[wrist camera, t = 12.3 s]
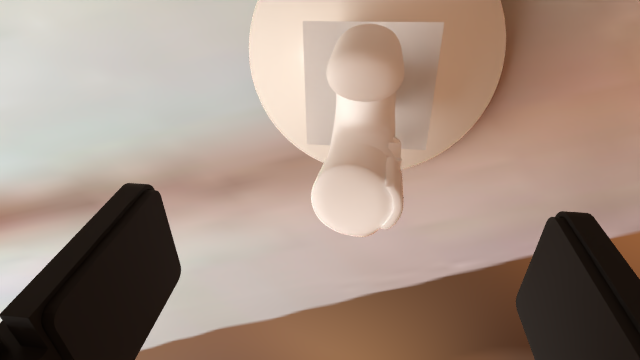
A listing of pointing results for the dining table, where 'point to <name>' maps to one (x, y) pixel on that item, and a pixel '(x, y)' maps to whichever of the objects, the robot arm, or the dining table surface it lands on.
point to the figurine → (367, 114)
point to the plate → (382, 6)
